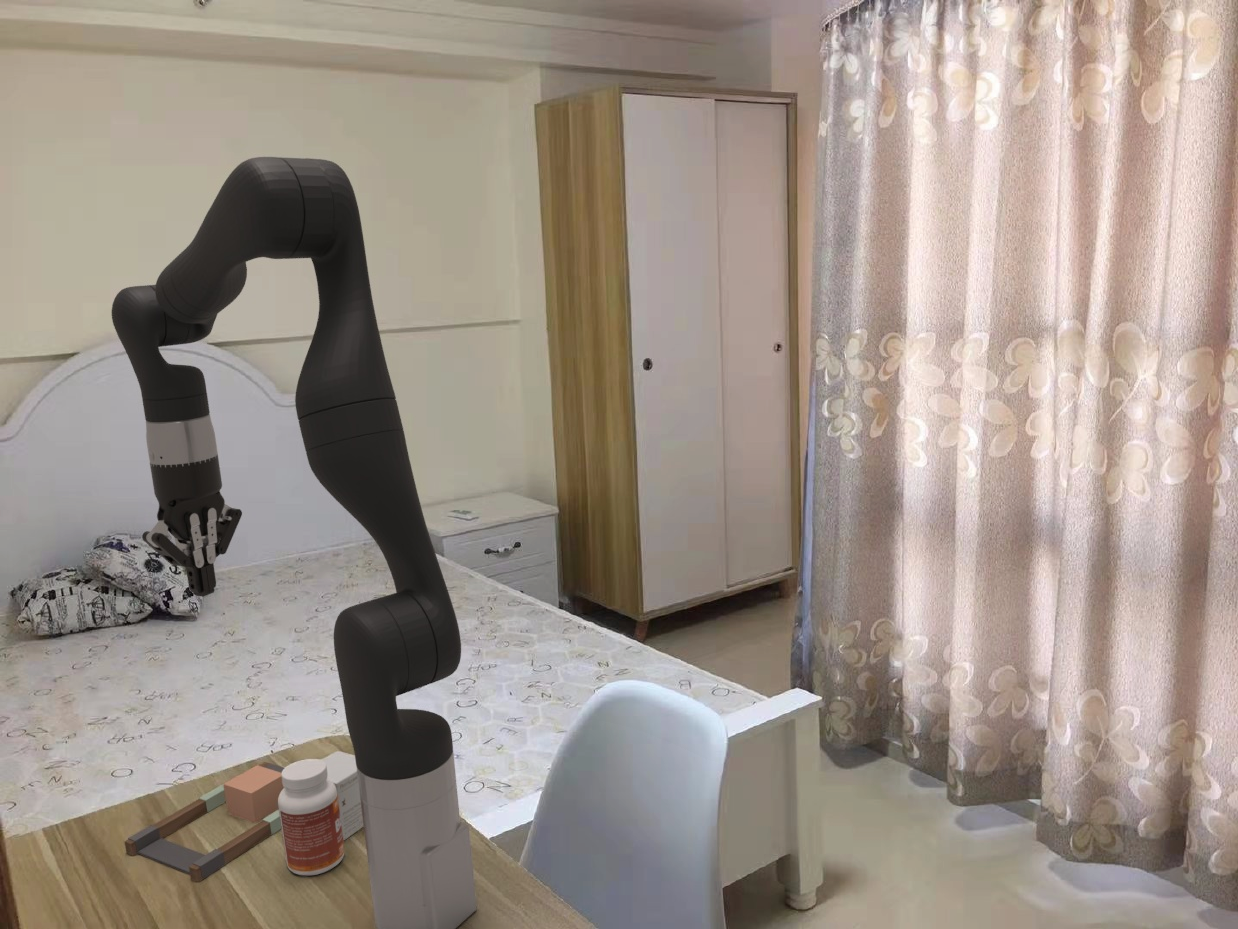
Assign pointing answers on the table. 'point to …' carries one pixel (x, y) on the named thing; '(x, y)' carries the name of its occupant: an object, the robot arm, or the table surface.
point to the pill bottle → (310, 818)
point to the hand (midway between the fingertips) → (204, 593)
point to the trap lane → (189, 860)
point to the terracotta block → (253, 793)
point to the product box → (346, 790)
